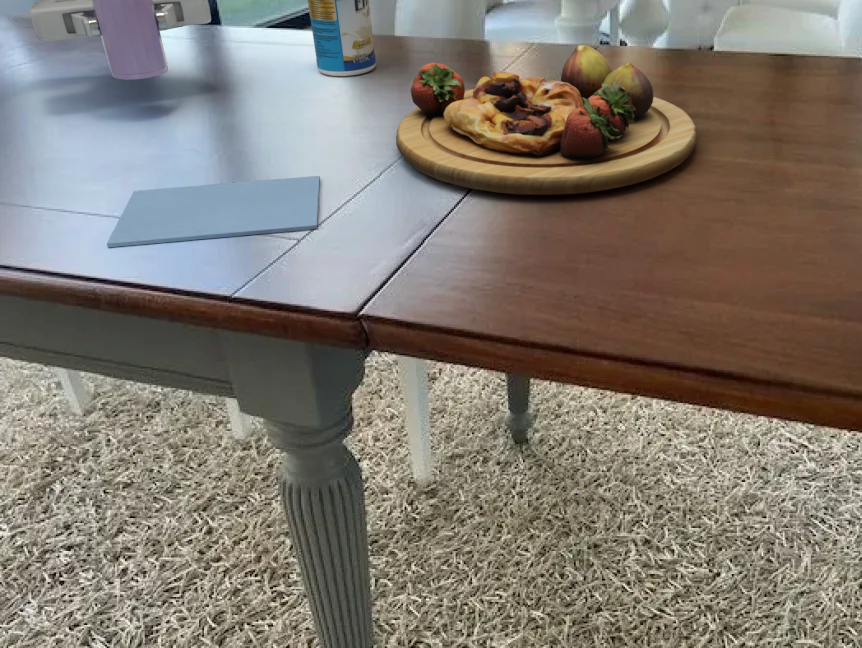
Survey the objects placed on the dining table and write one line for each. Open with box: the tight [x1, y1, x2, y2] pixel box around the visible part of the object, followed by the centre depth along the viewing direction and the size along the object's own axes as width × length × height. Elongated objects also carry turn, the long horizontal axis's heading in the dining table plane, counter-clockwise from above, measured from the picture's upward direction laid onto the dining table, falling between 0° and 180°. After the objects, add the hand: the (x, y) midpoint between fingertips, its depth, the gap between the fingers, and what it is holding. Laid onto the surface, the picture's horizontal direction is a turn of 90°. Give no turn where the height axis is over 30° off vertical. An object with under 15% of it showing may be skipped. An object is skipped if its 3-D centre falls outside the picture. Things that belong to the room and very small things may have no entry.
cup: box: [91, 0, 169, 80], centre depth 100 cm, size 6×6×10 cm
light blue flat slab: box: [106, 175, 321, 248], centre depth 80 cm, size 18×12×1 cm, turn 99°
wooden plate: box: [395, 44, 698, 196], centre depth 90 cm, size 32×32×8 cm
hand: (129, 25), depth 99 cm, fingers closed on cup, 6 cm apart
